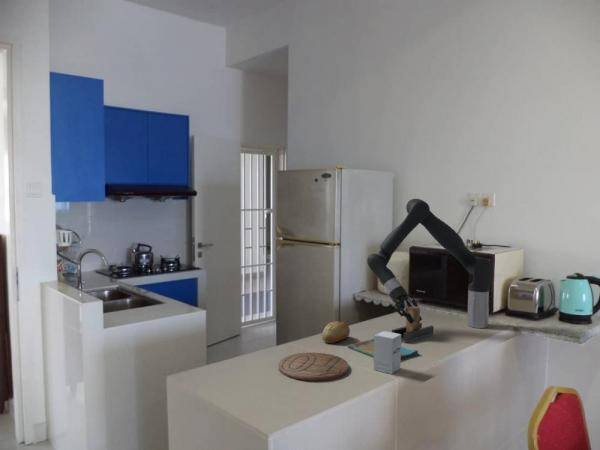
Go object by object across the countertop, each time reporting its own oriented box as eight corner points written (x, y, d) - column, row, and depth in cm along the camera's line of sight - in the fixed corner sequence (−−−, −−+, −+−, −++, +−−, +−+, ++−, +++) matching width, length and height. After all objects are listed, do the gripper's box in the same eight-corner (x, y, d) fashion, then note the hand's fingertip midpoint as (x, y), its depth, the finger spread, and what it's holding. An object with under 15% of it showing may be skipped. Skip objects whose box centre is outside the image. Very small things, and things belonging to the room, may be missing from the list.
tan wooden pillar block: (412, 329, 210) (413, 305, 209) (419, 331, 207) (420, 307, 206) (405, 331, 207) (406, 307, 206) (412, 333, 204) (413, 308, 203)
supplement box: (391, 374, 162) (392, 338, 161) (372, 369, 166) (373, 334, 166) (401, 368, 168) (401, 333, 167) (382, 364, 172) (383, 330, 171)
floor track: (419, 331, 216) (419, 322, 216) (433, 334, 210) (433, 326, 210) (391, 338, 204) (391, 329, 203) (405, 343, 198) (405, 333, 198)
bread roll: (355, 338, 204) (355, 320, 204) (335, 346, 192) (336, 327, 192) (337, 334, 210) (337, 316, 210) (317, 342, 199) (317, 323, 198)
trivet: (354, 361, 176) (354, 356, 176) (340, 386, 152) (340, 380, 152) (290, 354, 183) (290, 349, 183) (268, 377, 159) (268, 372, 159)
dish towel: (389, 365, 172) (390, 358, 172) (346, 349, 191) (346, 343, 191) (420, 356, 182) (420, 350, 182) (376, 341, 201) (376, 336, 201)
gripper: (389, 287, 207) (411, 319, 198) (410, 283, 216) (431, 314, 207) (380, 296, 211) (401, 329, 203) (400, 293, 220) (421, 323, 212)
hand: (416, 321), depth 205 cm, fingers closed on tan wooden pillar block, 5 cm apart
